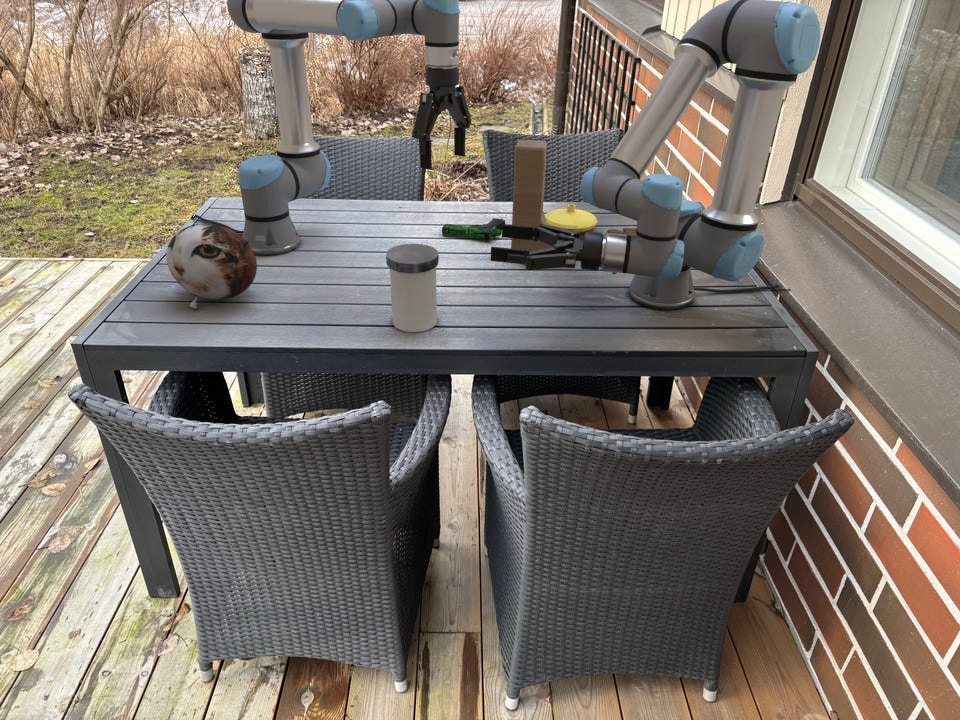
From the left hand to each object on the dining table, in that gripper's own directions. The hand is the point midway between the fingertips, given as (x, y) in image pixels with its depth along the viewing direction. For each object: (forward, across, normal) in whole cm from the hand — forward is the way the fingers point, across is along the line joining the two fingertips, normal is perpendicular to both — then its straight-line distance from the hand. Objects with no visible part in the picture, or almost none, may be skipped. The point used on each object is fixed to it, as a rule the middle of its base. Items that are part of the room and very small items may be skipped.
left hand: (443, 161), depth 169 cm
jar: (+28, -27, -11) cm, 40 cm away
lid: (+12, -27, -11) cm, 31 cm away
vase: (+28, +46, -12) cm, 55 cm away
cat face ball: (+28, -43, +35) cm, 62 cm away
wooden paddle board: (+28, +53, -36) cm, 70 cm away
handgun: (+28, +28, +8) cm, 40 cm away
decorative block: (+28, +22, -16) cm, 39 cm away
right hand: (+7, -21, -28) cm, 36 cm away
